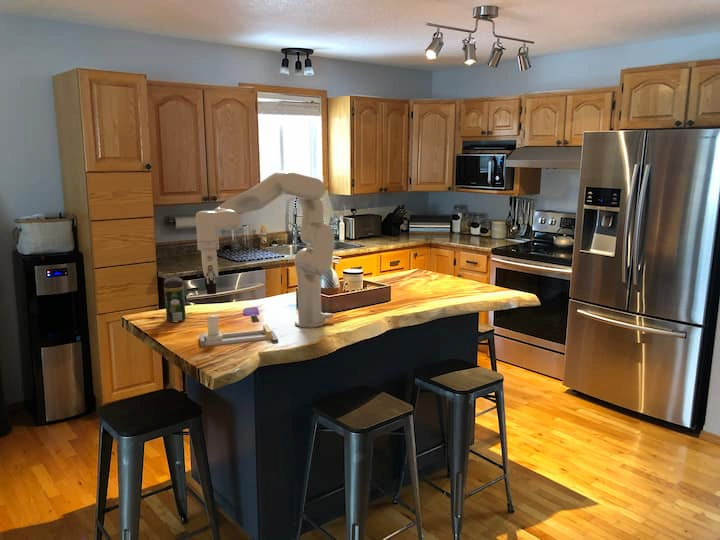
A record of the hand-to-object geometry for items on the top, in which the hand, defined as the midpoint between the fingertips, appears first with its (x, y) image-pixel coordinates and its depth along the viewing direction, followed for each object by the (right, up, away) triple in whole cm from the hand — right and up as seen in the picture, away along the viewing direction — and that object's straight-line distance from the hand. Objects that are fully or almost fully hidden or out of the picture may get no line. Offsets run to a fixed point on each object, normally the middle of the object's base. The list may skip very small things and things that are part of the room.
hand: (210, 291), depth 216 cm
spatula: (+9, -14, +38) cm, 42 cm away
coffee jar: (-24, -14, +37) cm, 47 cm away
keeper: (0, -19, +4) cm, 19 cm away
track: (+9, -19, +7) cm, 22 cm away
